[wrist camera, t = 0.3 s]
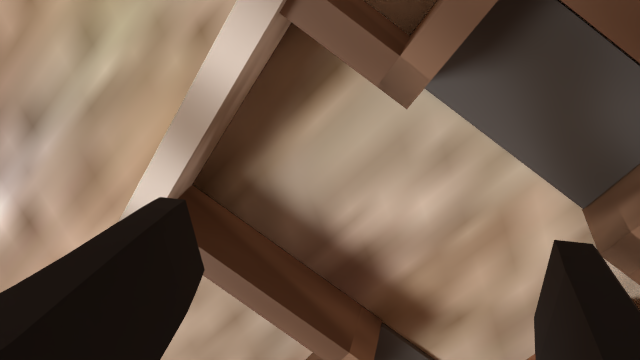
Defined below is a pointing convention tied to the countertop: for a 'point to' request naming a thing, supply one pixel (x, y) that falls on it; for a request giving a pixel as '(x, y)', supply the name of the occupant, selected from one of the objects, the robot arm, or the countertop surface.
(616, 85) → the trap lane
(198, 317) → the countertop surface
